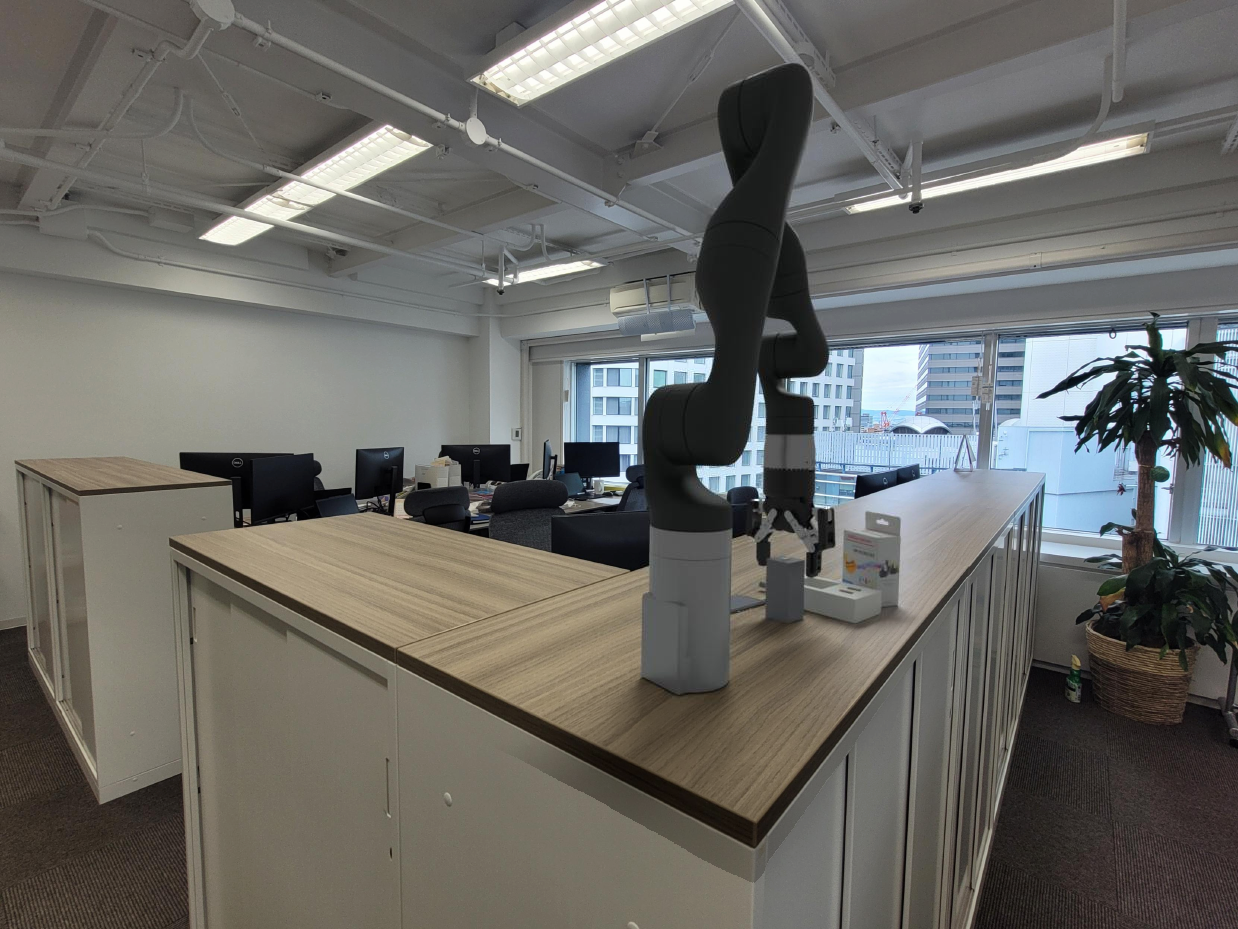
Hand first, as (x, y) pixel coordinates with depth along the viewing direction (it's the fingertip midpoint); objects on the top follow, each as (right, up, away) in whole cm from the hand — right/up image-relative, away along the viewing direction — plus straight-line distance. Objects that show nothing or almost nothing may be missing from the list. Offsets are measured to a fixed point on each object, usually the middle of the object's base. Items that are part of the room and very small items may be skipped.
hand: (787, 570), depth 85 cm
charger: (-1, -7, 0) cm, 7 cm away
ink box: (+17, -7, +10) cm, 21 cm away
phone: (-8, -7, +6) cm, 12 cm away
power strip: (+6, -7, +8) cm, 12 cm away
